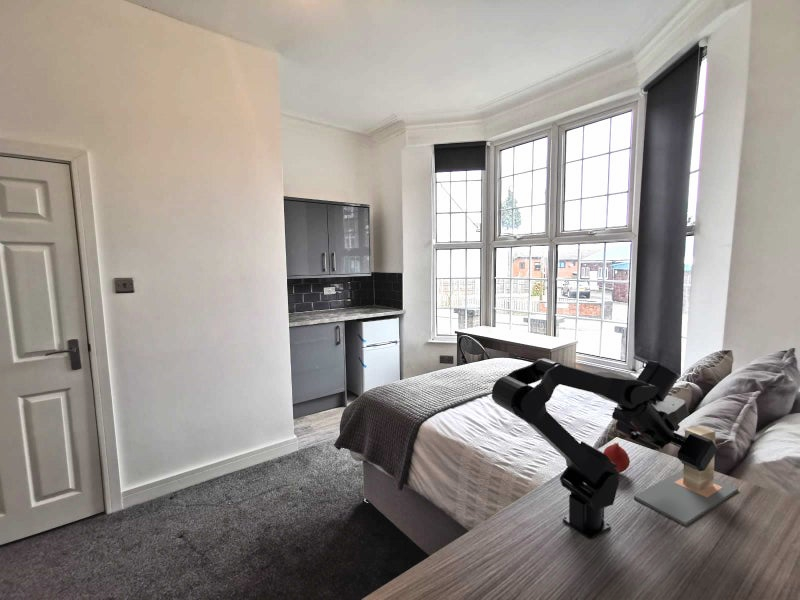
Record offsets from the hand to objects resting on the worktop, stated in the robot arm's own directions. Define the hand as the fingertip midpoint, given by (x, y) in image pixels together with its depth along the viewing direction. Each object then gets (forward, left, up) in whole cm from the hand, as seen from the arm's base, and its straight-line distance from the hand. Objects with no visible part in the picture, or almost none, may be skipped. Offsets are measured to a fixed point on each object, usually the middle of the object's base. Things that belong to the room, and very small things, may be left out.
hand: (679, 457), depth 82 cm
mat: (+1, -1, -9) cm, 9 cm away
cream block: (+6, -1, -8) cm, 10 cm away
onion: (-4, +12, -9) cm, 15 cm away
